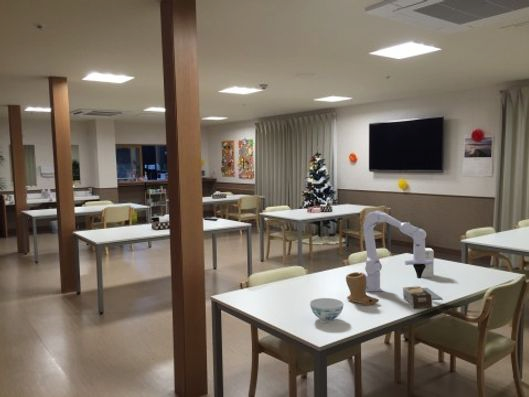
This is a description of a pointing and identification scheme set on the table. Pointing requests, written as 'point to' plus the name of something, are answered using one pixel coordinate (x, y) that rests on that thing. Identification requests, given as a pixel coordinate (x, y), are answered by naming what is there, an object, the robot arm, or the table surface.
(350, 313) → the table surface
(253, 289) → the table surface
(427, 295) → the coffee box
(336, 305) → the chinaware
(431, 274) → the supplement box
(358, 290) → the brown boot shaped vase
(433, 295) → the mat
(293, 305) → the table surface
